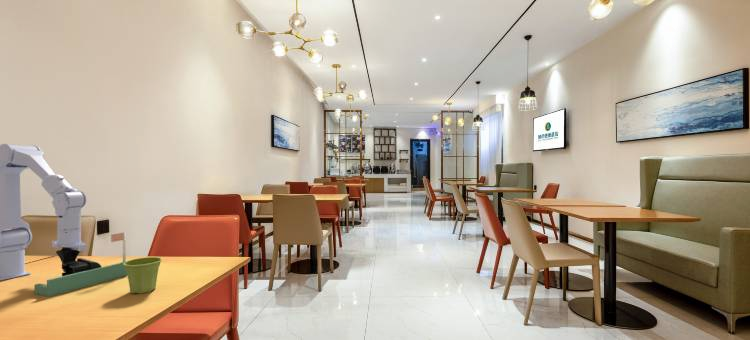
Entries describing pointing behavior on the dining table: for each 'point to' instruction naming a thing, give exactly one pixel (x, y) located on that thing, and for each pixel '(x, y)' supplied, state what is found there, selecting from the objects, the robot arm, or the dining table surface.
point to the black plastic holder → (79, 266)
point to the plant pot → (142, 274)
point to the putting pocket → (85, 275)
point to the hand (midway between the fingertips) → (68, 271)
